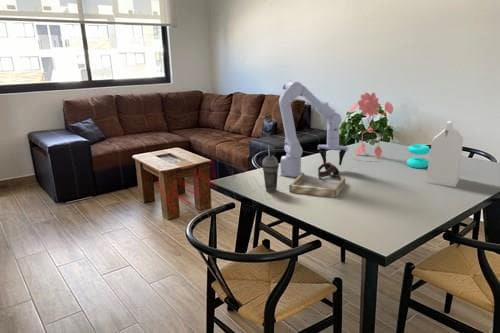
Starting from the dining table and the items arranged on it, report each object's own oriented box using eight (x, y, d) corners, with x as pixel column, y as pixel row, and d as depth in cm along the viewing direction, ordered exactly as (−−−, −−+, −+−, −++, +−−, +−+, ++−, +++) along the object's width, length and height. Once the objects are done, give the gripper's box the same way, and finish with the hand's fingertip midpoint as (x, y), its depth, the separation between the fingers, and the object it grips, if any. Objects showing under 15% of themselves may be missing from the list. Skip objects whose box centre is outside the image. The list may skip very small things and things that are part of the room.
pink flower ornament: (352, 150, 221) (354, 89, 210) (395, 158, 202) (399, 91, 192) (337, 157, 211) (338, 93, 200) (380, 165, 193) (384, 96, 182)
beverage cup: (268, 194, 160) (266, 148, 154) (259, 189, 166) (257, 145, 160) (282, 191, 163) (281, 146, 157) (274, 186, 169) (272, 142, 164)
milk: (431, 174, 175) (437, 118, 167) (459, 178, 168) (466, 120, 161) (425, 182, 166) (431, 123, 158) (455, 186, 159) (462, 125, 152)
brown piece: (343, 181, 173) (335, 168, 170) (323, 189, 176) (316, 176, 172) (339, 167, 183) (331, 154, 180) (321, 175, 186) (313, 162, 183)
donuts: (403, 146, 187) (415, 142, 193) (402, 165, 190) (414, 161, 195) (422, 149, 179) (434, 146, 185) (420, 170, 182) (432, 165, 188)
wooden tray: (289, 191, 162) (289, 185, 161) (301, 179, 177) (301, 173, 176) (336, 197, 154) (336, 190, 153) (345, 183, 169) (345, 177, 168)
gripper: (349, 136, 184) (348, 163, 188) (320, 134, 190) (320, 160, 194) (346, 139, 178) (346, 167, 182) (316, 137, 184) (316, 164, 188)
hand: (332, 164), depth 188 cm, fingers open, 7 cm apart
